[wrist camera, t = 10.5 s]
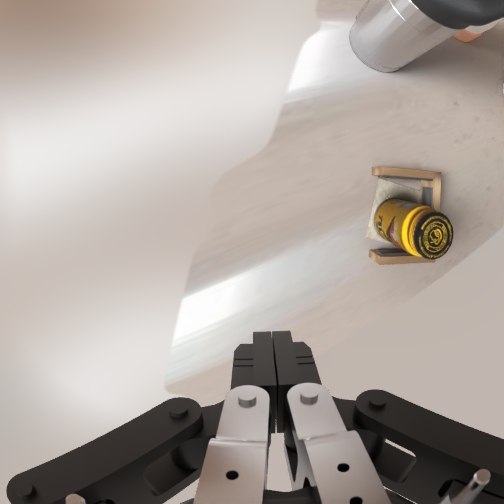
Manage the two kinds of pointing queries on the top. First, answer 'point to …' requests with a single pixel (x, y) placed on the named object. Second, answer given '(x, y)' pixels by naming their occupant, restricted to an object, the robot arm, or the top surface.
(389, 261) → the light wood low tray
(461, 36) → the pepper shaker
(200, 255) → the top surface
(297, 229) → the top surface
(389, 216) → the condiment
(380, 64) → the robot arm
